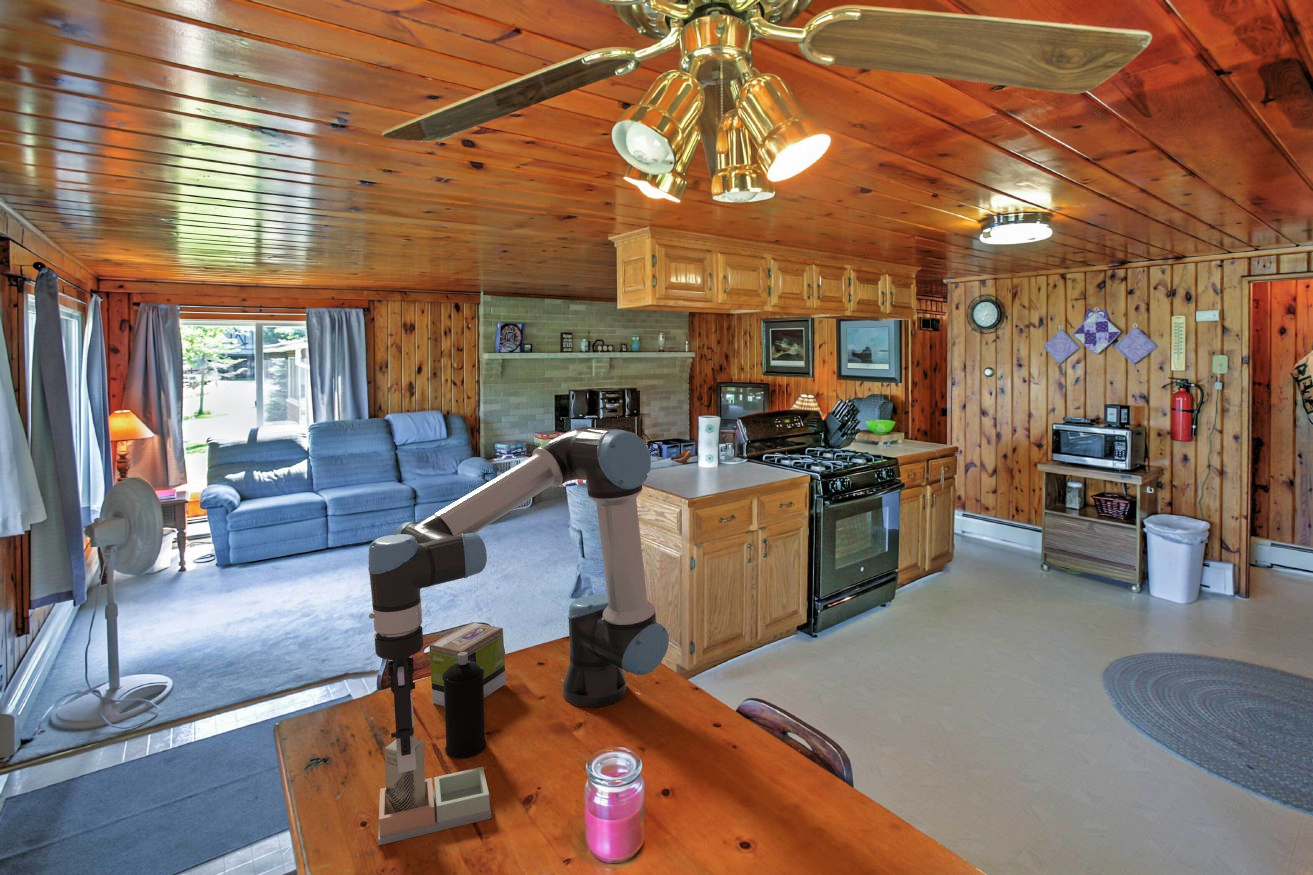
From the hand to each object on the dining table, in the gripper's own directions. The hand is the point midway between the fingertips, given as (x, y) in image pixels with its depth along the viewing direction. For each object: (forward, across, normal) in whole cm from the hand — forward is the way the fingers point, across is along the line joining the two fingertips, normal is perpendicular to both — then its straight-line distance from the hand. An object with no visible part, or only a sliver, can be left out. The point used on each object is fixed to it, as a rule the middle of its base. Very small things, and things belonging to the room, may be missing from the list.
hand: (406, 747), depth 114 cm
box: (+12, 0, -1) cm, 12 cm away
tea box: (+14, -42, +14) cm, 46 cm away
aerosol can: (+13, -19, +11) cm, 25 cm away
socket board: (+13, 0, +4) cm, 13 cm away
